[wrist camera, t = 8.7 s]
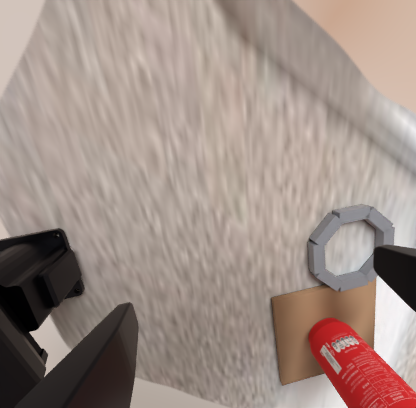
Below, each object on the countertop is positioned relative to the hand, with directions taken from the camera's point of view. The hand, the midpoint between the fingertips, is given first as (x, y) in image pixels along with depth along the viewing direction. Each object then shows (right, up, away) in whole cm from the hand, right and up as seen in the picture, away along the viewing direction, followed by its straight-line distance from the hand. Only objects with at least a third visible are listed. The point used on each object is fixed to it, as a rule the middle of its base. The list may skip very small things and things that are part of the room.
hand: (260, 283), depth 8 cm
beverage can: (+12, -12, +18) cm, 24 cm away
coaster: (+12, -12, +18) cm, 25 cm away
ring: (+13, -2, +16) cm, 21 cm away
